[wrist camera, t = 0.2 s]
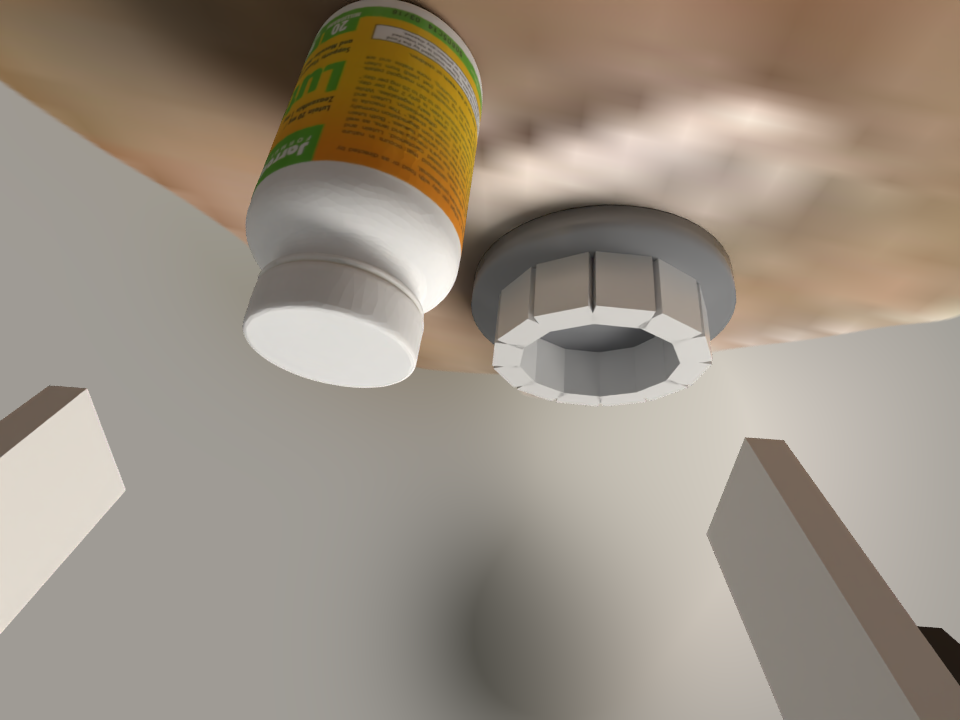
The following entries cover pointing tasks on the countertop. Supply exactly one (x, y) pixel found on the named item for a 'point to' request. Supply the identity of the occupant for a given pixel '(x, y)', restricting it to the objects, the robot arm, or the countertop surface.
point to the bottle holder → (603, 304)
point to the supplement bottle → (364, 196)
